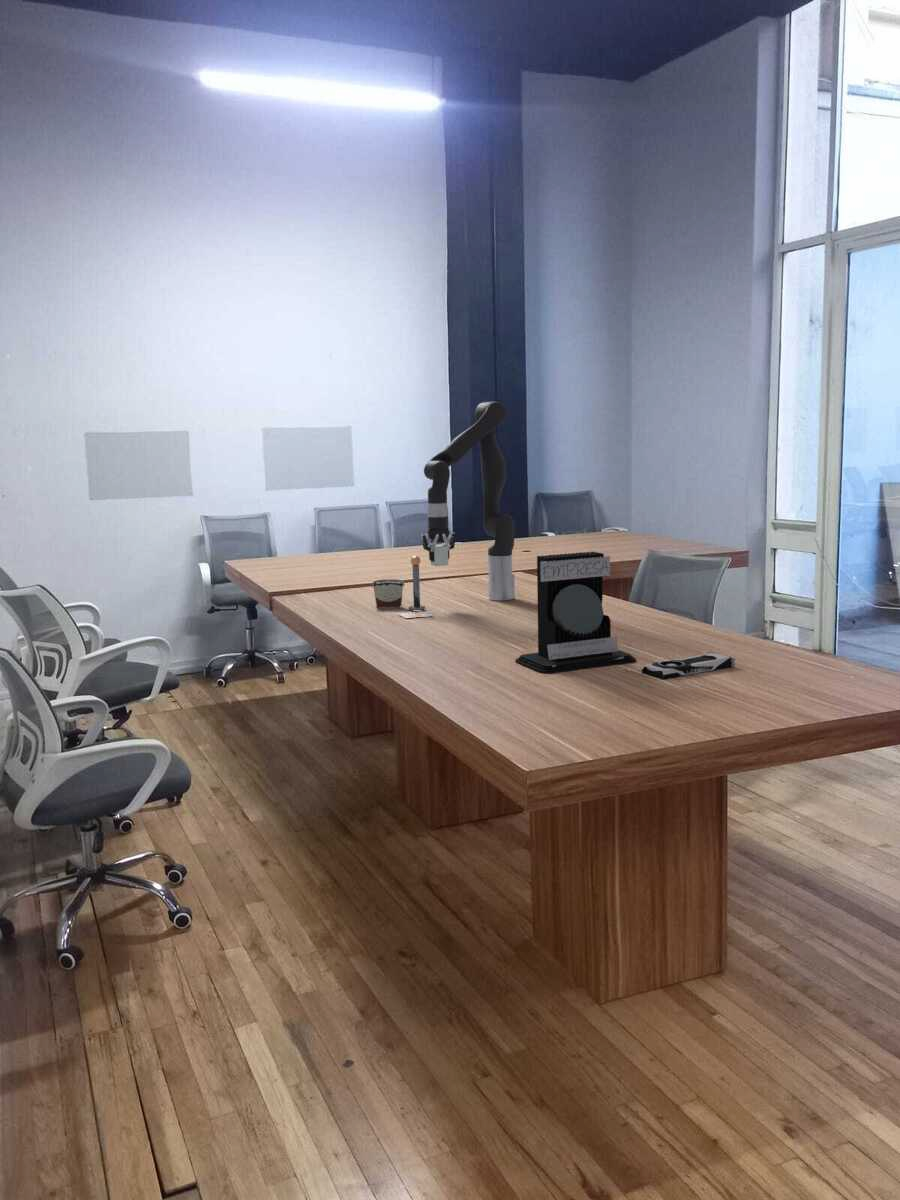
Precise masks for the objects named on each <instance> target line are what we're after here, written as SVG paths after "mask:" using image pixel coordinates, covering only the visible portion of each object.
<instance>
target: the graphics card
mask: <svg viewBox="0 0 900 1200" xmlns="http://www.w3.org/2000/svg"><path fill="white" fill-rule="evenodd" d="M735 667H736V657H732V656H728V655H724V654H720V653H715V652H711V651H709V652H705V653H700V654H698V655H695V656H694V655H693V656H688V657H683V658H677V659H670V660H663V661H658V662H652V663H646V664H644V665H643V667H641V674H644V675H647V676H650V677H653V678H656V679H660V680H662V681H663V680H669V679H672V678H673V679H675V678H683V677H686V676H692V675H697V674H703V673H709V672H715V671H719V670H725V669H731V668H735Z"/></svg>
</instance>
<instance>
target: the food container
mask: <svg viewBox="0 0 900 1200" xmlns="http://www.w3.org/2000/svg"><path fill="white" fill-rule="evenodd" d="M405 586H406V585H405V583H404V580H402V579H396V578H388V579H377V580H374V581H373V582H372V584H371V588H373V593H374V600H375V606H376V608H377V607H400V606H401V607H402V605H403V604H402V601H403V590H404V588H405Z"/></svg>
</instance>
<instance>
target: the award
mask: <svg viewBox="0 0 900 1200" xmlns="http://www.w3.org/2000/svg"><path fill="white" fill-rule="evenodd" d="M536 564H537V565H536V576H537V578H536V580H537V589H536V590H537V591H536V592H537V593H536V594H537V652H534V653H533V652H531V653H524V654H520V656H518V658H515V661H514V662H515V663H517V664H518V665H521V666H524V667H526V668H528V669H531V670H533V671H536V672H537V673H541V674H556V673H562V672H563V673H564V672H571V671H577V670H584V669H585V670H587V669H593V668H600V667H607V666H615V665H624V664H630V663H631V664H632V663H635V662H636V661H637V658H636V657H635V656H633V655H632V654H631V653H628V652H626V651H623V650H619V646H618V637H617V636H612V634H611V633H612V632H611V630H612V629H611V628H612V627H611V625H612V624H611V618H610V616H609V615H608V614H607V615H606V614H604V609H603V596H604V593H603V590H604V589H603V588H604V586H603V584H604V582H603V581H604V577H607V576H609V577H610V576H611V556H610V555H605V554H604V553H603V552H596V551H584V552H571V553H569V552H568V553H559V554H548V555H537V556H536Z"/></svg>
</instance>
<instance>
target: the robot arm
mask: <svg viewBox="0 0 900 1200" xmlns="http://www.w3.org/2000/svg"><path fill="white" fill-rule="evenodd" d="M506 408H507V407H505V405H504V404H503V403H502V402H499V401H482V402H480V403H479V404H478V405H477V406H476V409H475V412H474V415H475V416H474V417H475V418H474V419H475V423H474V424H473V425H472V426H470V427H469V428H467V429H466V430H465V431H463V432H462V433H460V434H459V435H457V436H456V437H455V438H453V439H452V441H451V442H450V443H448V444H447V446H446V447H445V448H444V449H442V451H440V452H438V453H437V454H436V455H434V456H433V457H432V458H430V459H429V460H428V461H427V462H426V463H425V465H424V468H423V474H424V476H425V477H426V479H429V480H430V481H431V480H432V485H431V486H430V487H429V488H428V490H427V529H428V530H427V533H425V534H420V536H419V537H420V540H421V544H422V547H423V550H425V551H427V552H428V560H429V561H430V563H431V562H434V552H433V551H434V547H435V546H437V544H441V545H443V546H448V560H450V550H453V549H454V548H455V545H456V538H457V533H456V532H453V531H452V532H451V531H450V530H449V507H448V487H449V481H450V476H451V470H450V466H454V465H457V464H458V463H459V462H460V461H461V460H462V459H463V457H464V456H466V454H467V453H468V452H470V450H471V449H472V448H474V446H476V445H477V444H478V443H479V453H480V454H479V455H480V468H481V479H482V489H483V490H482V492H483V493H482V497H483V511H482V512H483V515H482V516H483V518H482V519H483V521H482V522H483V523H482V525H483V529H484V533H486V534H487V536H489V537H493V538H494V543H493V545H491V546H490V547H488V550H487V555H488V558H487V559H488V561H487V564H488V599H489V600H490V601H497V602H498V601H500V602H502V601H510V600H515V599H516V594H515V592H516V591H515V590H516V589H515V588H516V587H515V583H516V582H515V581H516V580H515V574H514V573H513V550H514V546H515V528H516V527H515V521H514V518H513V516H511V515H510V514H508V513H501V509H500V508H501V506H500V504H501V503H500V498H501V495H502V492H503V490H504V487H505V484H506V480H507V468H506V461H505V457H504V455H503V452H502V450H501V448H500V446H499V444H498V441H497V438H496V437H497V435H496V429H497V428H498V427H499V426H500V425H501V424H503V423H504V422H505V420H506V418H507V409H506ZM428 537H429V539H430V540H429V543H428ZM448 538H450V539H449V541H448Z"/></svg>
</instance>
